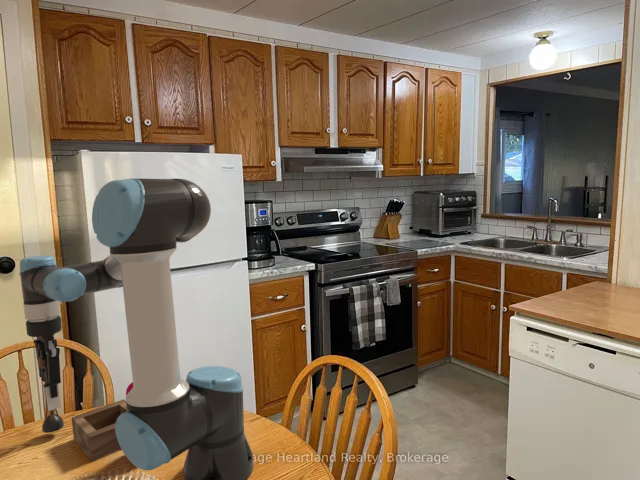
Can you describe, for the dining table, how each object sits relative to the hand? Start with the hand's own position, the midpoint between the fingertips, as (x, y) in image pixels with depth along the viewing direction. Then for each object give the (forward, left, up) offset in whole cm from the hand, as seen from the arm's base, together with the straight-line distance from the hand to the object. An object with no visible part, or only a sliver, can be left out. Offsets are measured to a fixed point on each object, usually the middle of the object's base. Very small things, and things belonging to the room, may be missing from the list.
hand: (52, 406), depth 116 cm
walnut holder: (-13, -9, -8) cm, 17 cm away
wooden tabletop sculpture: (0, 0, -6) cm, 6 cm away
